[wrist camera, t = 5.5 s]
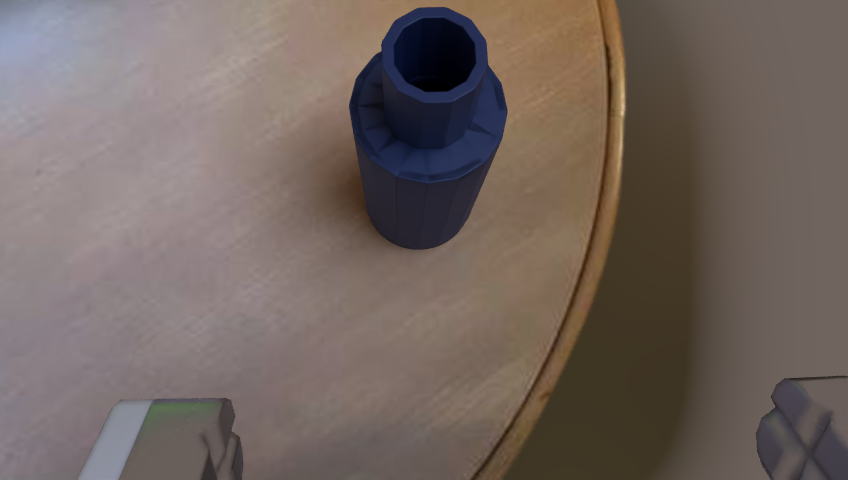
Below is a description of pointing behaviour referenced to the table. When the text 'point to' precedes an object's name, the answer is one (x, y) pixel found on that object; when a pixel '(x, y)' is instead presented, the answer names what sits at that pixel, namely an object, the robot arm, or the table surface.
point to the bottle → (426, 126)
